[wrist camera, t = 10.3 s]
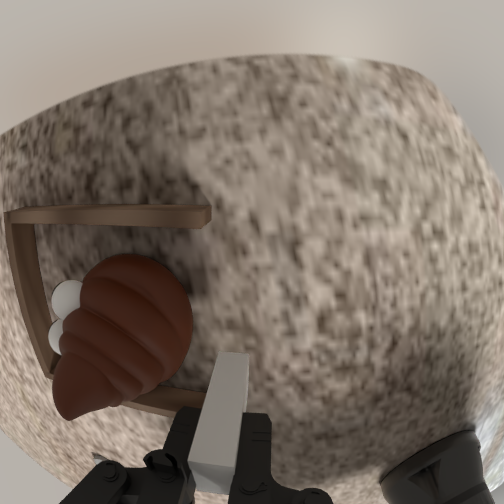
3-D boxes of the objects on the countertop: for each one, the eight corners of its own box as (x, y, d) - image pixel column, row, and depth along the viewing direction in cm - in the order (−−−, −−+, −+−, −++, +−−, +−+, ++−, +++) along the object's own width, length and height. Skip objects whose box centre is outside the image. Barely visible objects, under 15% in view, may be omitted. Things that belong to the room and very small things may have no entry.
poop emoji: (166, 386, 19) (126, 480, 10) (78, 331, 18) (10, 400, 9) (220, 289, 16) (175, 405, 7) (105, 223, 16) (-7, 271, 7)
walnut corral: (211, 205, 15) (200, 212, 13) (213, 400, 19) (208, 423, 17) (25, 206, 16) (3, 212, 13) (58, 362, 20) (45, 376, 17)
